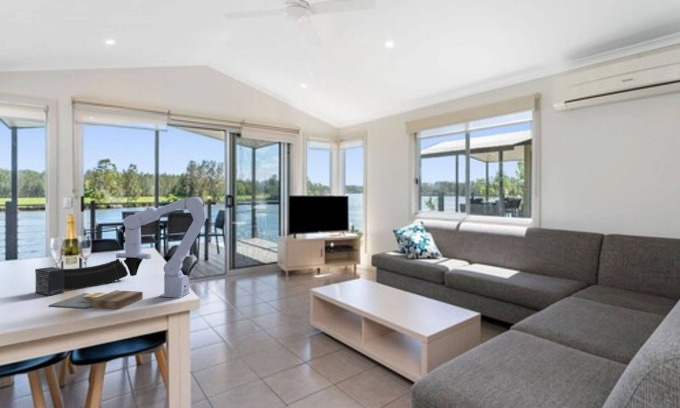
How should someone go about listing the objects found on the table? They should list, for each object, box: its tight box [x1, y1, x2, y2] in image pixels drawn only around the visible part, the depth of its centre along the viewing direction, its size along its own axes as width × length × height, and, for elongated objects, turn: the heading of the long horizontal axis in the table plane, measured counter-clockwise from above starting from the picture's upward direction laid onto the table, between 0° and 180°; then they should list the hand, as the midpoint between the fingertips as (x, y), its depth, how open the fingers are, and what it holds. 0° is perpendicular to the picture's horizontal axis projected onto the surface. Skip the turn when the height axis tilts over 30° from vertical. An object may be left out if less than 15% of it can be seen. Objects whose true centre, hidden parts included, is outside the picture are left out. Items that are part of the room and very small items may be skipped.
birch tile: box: [82, 291, 109, 302], centre depth 140 cm, size 7×6×2 cm
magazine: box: [57, 258, 129, 291], centre depth 161 cm, size 17×3×30 cm
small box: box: [34, 266, 65, 297], centre depth 150 cm, size 11×6×10 cm, turn 65°
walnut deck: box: [89, 289, 143, 310], centre depth 138 cm, size 12×13×3 cm
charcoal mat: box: [48, 292, 91, 309], centre depth 140 cm, size 16×16×1 cm
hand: (133, 275), depth 145 cm, fingers closed
